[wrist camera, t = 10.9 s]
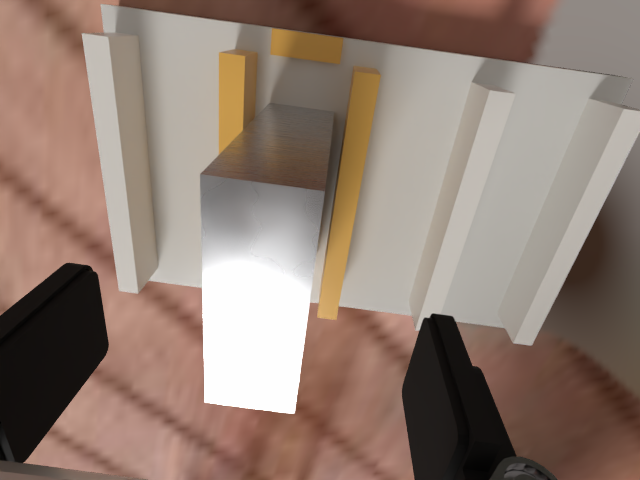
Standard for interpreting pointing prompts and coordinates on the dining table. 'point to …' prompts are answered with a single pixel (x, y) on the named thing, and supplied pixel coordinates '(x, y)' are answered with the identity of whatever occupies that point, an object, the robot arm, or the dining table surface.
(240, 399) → the panel
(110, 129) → the rack
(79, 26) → the dining table surface
